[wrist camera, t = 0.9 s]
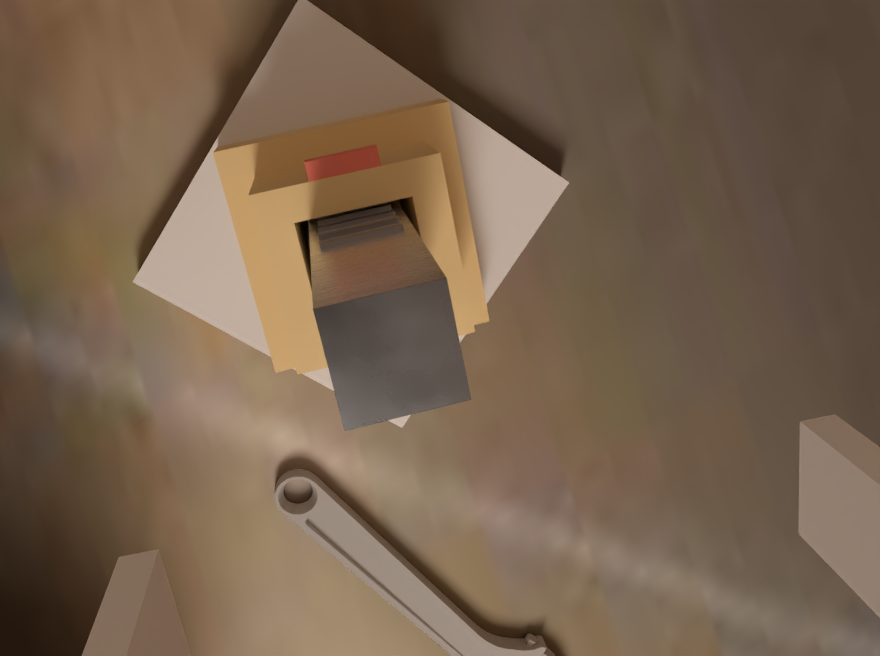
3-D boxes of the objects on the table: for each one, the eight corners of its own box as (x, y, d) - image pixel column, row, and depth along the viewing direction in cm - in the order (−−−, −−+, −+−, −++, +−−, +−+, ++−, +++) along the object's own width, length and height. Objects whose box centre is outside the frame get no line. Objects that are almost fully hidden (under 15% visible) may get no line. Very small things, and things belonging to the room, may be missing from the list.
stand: (201, 465, 47) (180, 557, 38) (62, 45, 39) (-3, 44, 31) (588, 369, 49) (648, 436, 40) (527, -49, 41) (586, -74, 33)
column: (325, 284, 42) (342, 433, 26) (305, 201, 41) (308, 303, 24) (406, 265, 42) (474, 401, 26) (388, 182, 41) (448, 270, 25)
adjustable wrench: (263, 484, 48) (261, 499, 47) (351, 417, 48) (353, 430, 46) (506, 734, 57) (512, 754, 55) (582, 679, 56) (591, 698, 55)
